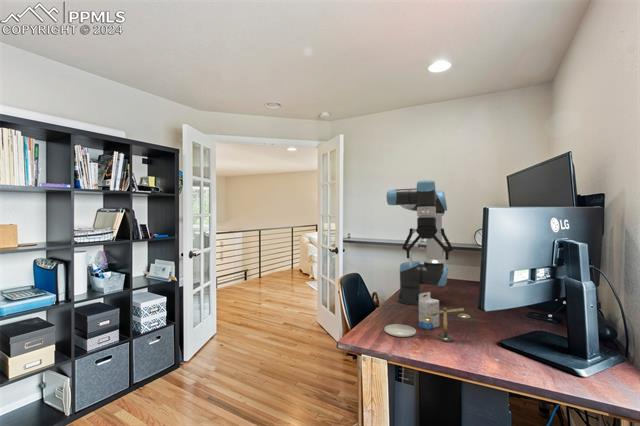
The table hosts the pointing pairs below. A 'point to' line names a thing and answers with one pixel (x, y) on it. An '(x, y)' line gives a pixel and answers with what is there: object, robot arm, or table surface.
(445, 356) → the table surface
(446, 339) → the balance
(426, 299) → the ink box
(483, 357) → the table surface
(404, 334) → the dish
